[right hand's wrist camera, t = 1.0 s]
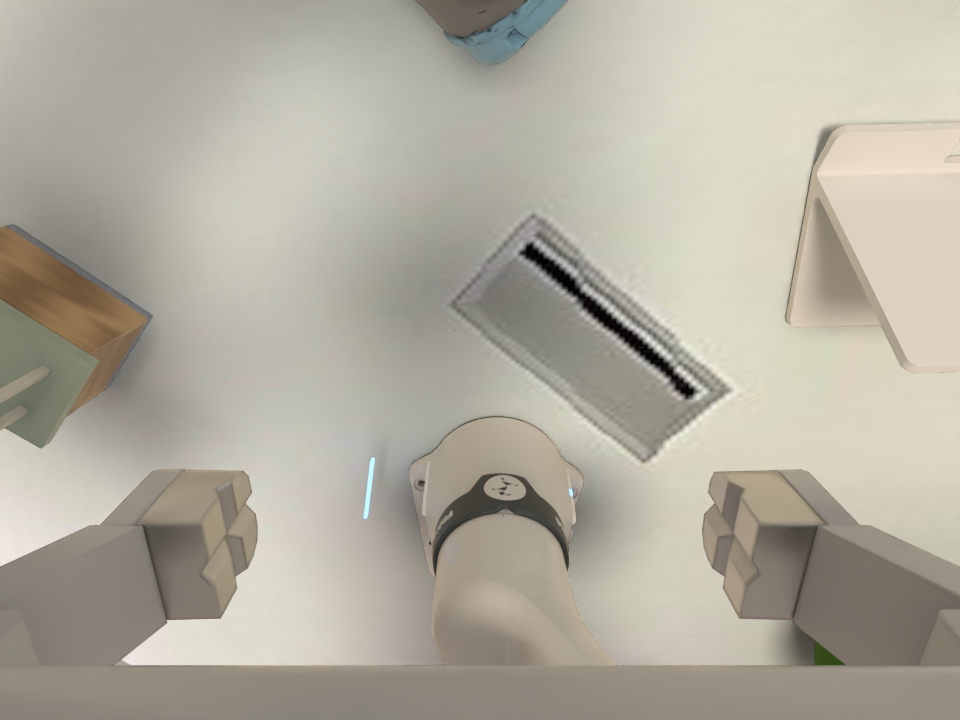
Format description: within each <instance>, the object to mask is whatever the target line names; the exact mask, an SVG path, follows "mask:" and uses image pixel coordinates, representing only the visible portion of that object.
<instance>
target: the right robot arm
mask: <svg viewBox="0 0 960 720" xmlns="http://www.w3.org/2000/svg"><path fill="white" fill-rule="evenodd" d="M374 461H375V458H371V461H370V469H369V477H368V486H367V495H366V503H365V512H364V518H366V519H367V516H368V511H369V502H370V494H371V486H372V477H373V469H374ZM409 477H410V482H411V487H412V492H413V497H414V502H415V507H416V512H417V516H418V521H419V526H420V531H421V536H422V541H423V546H424V551H425V556H426V560H427V565H428V570H429V573H430V574H431V576H433V577H434V578H436V579H435V589H434V599H433V609H432V620H431V631H432V636H433V641H434V644H435V647H436V649H437V651H438V653H439V655H440V657H441V659H442V660H443V662H444V664H445V665H446V666H266V665H115V664H116V663H117V662H119V661H120V660H121V659H122V658H124V657H125V656H126V655H127V654H129V653H130V652H131V651H132V650H134V649H135V648H136V647H137V646H139V645H140V644H141V643H142V642H144V641H145V640H146V639H147V638H149V637H150V636H151V635H152V634H154V633H155V632H156V631H157V630H159V629H160V628H161V627H162V626H164V625H165V624H166V623H167V620H184V619H219V618H221V617H222V615H223V613H224V612H225V610H226V608H227V606H228V604H229V602H230V600H231V599H232V597H233V595H234V593H235V591H236V589H237V584H236V578H235V577H236V576H237V575H238V574H240V573H241V572H243V571H244V570H246V569H247V568H248V566H249V564H250V562H251V560H252V558H253V556H254V552H255V548H256V543H257V519H256V514H255V513H254V512H253V511H252V510H251V509H250V508H249V507H248V506H247V505H246V504H245V503H246V501H247V500H248V498H249V496H250V495H251V493H252V490H251V485H250V481H249V476H248V475H247V474H246V473H245V472H244V471H227V470H184V469H174V470H156V471H152V472H151V473H150V474H149V475H148V476H147V477H146V478H145V479H144V480H143V481H142V482H141V483H140V484H139V485H138V486H137V487H136V488H135V489H134V491H133V492H132V493H131V494H130V495H129V496H128V497H127V498H126V499H125V500H124V501H123V502H122V503H121V504H120V505H119V506H118V507H117V508H116V509H115V510H114V511H113V512H112V513H111V514H110V515H109V516H108V517H107V518H106V519H105V520H104V521H103V522H102V523H101V525H91V526H88V527H86V528H83V529H81V530H79V531H77V532H75V533H73V534H70V535H68V536H66V537H64V538H62V539H59V540H57V541H55V542H53V543H51V544H49V545H46V546H44V547H42V548H40V549H38V550H36V551H33V552H31V553H29V554H27V555H25V556H22V557H20V558H18V559H16V560H14V561H12V562H9V563H7V564H5V565H3V566H1V567H0V720H960V567H959V566H957V565H955V564H953V563H950V562H948V561H946V560H944V559H942V558H940V557H937V556H935V555H933V554H931V553H929V552H926V551H924V550H922V549H920V548H918V547H916V546H913V545H911V544H909V543H907V542H905V541H903V540H900V539H898V538H896V537H894V536H892V535H890V534H887V533H885V532H883V531H881V530H879V529H877V528H874V527H872V526H869V525H860V524H859V523H858V522H857V521H856V520H855V519H854V518H853V517H852V516H851V515H850V514H849V513H848V512H847V511H846V510H845V509H844V508H843V507H842V506H841V505H840V504H839V503H838V502H837V501H836V500H835V499H834V498H833V497H832V496H831V495H830V493H829V492H828V491H827V490H826V489H825V488H824V487H823V486H822V485H821V484H820V483H819V482H818V481H817V480H816V479H815V478H814V477H813V476H812V475H811V474H810V473H809V472H807V471H805V470H802V469H791V470H767V471H727V472H714V473H713V475H712V478H711V480H710V484H709V490H708V493H709V495H710V496H711V498H712V500H713V501H714V503H715V504H714V505H713V506H712V507H711V508H710V509H709V510H708V511H707V512H706V513H705V514H704V520H703V528H702V534H703V545H704V549H705V552H706V556H707V559H708V560H709V562H710V564H711V566H712V568H713V569H714V570H716V571H717V572H719V573H720V574H722V575H723V576H724V577H725V578H724V584H723V589H724V591H725V593H726V595H727V597H728V598H729V600H730V602H731V604H732V606H733V608H734V610H735V611H736V613H737V615H738V617H739V619H775V620H793V623H794V624H795V625H797V626H798V627H799V628H800V629H802V630H803V631H804V632H805V633H807V634H808V635H809V636H810V637H811V638H813V639H814V640H815V641H816V642H818V643H819V644H820V645H821V646H823V647H824V648H825V649H826V650H828V651H829V652H830V653H831V654H833V655H834V656H835V657H836V658H838V659H839V660H840V661H841V662H843V663H844V664H845V665H618V664H617V663H616V662H615V661H614V660H613V659H612V658H611V657H610V656H609V655H608V654H607V653H606V652H605V651H604V650H603V649H602V648H601V646H600V645H599V644H598V643H597V642H596V640H595V639H594V638H593V637H592V635H591V634H590V632H589V631H588V630H587V628H586V626H585V625H584V623H583V621H582V619H581V617H580V615H579V612H578V609H577V606H576V603H575V600H574V596H573V593H572V589H571V586H570V582H569V578H568V573H567V571H568V567H569V556H568V551H569V548H568V543H571V542H572V539H573V530H572V529H571V527H572V525H574V524H575V523H576V513H575V506H576V503H577V501H578V498H579V495H580V493H581V490H582V488H583V484H584V482H583V476H582V474H581V473H580V471H578V470H577V469H576V468H575V467H573V466H572V465H570V464H569V463H567V462H566V461H565V460H564V459H563V458H562V457H561V455H560V454H559V452H558V450H557V449H556V447H555V445H554V444H553V443H552V441H551V440H550V439H549V438H548V437H547V436H546V435H545V434H544V433H543V432H541V431H540V430H539V429H537V428H535V427H534V426H532V425H530V424H528V423H525V422H523V421H519V420H516V419H511V418H503V417H491V418H483V419H479V420H475V421H472V422H469V423H467V424H464V425H462V426H461V427H459V428H457V429H456V430H454V431H453V432H451V433H450V434H449V435H448V436H447V437H446V438H445V439H444V440H443V441H442V442H441V443H440V445H439V446H438V447H437V448H436V449H435V450H434V451H433V452H432V453H431V454H428V455H426V456H424V457H422V458H420V459H419V460H417V461H415V462H414V463H413V464H412V465H411V466H410V469H409ZM420 480H423V481H425V483H420V482H419V481H420Z"/></svg>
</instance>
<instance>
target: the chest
mask: <svg viewBox="0 0 960 720" xmlns="http://www.w3.org/2000/svg"><path fill="white" fill-rule="evenodd" d="M0 299H1V300H3V301H4V302H6V303H8V304H9V305H11V306H12V307H14V308H16V309H17V310H19V311H20V312H22V313H24V314H25V315H27V316H29V317H30V318H32V319H33V320H35V321H37V322H38V323H40V324H41V325H43V326H45V327H46V328H48V329H49V330H51V331H53V332H54V333H56V334H58V335H59V336H61V337H62V338H64V339H66V340H67V341H69V342H70V343H72V344H74V345H75V346H77V347H78V348H80V349H82V350H83V351H85V352H87V353H88V354H90V355H91V356H93V357H95V358H96V359H98V360H99V362H98V364H97V365H96V367H95V369H94V370H93V372H92V374H91V375H90V377H89V379H88V380H87V382H86V384H85V385H84V387H83V389H82V390H81V392H80V394H79V395H78V397H77V399H76V400H75V402H74V404H73V405H72V407H71V409H70V410H69V412H68V414H67V415H66V417H67V416H68V415H69V414H71V413H72V412H74V411H75V410H76V409H78V408H79V407H81V406H82V405H83V404H85V403H86V402H88V401H89V400H91V399H92V398H93V397H95V396H96V395H98V394H99V393H100V392H102V391H104V390H105V389H107V388H108V387H109V386H110V384H111V382H112V381H113V379H114V377H115V376H116V374H117V373H118V371H119V369H120V368H121V366H122V365H123V363H124V361H125V360H126V358H127V356H128V355H129V353H130V352H131V350H132V348H133V347H134V345H135V344H136V342H137V340H138V339H139V337H140V335H141V334H142V332H143V331H144V329H145V327H146V326H147V324H148V323H149V321H150V319H151V318H152V316H153V315H151V314H149V313H148V312H146V311H145V310H143V309H142V308H140V307H139V306H137V305H136V304H134V303H133V302H131V301H130V300H128V299H127V298H125V297H123V296H122V295H120V294H119V293H117V292H116V291H114V290H113V289H111V288H110V287H108V286H107V285H105V284H104V283H102V282H101V281H99V280H98V279H96V278H94V277H93V276H91V275H90V274H88V273H87V272H85V271H84V270H82V269H81V268H79V267H78V266H76V265H75V264H73V263H72V262H70V261H68V260H67V259H65V258H64V257H62V256H61V255H59V254H58V253H56V252H55V251H53V250H52V249H50V248H49V247H47V246H46V245H44V244H43V243H41V242H39V241H38V240H36V239H35V238H33V237H32V236H30V235H29V234H27V233H26V232H24V231H23V230H21V229H20V228H18V227H17V226H15V225H9V226H6V227H2V228H0Z"/></svg>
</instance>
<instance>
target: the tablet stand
mask: <svg viewBox="0 0 960 720" xmlns="http://www.w3.org/2000/svg"><path fill="white" fill-rule="evenodd" d="M959 141H960V122H950V123H913V124H875V125H844V126H840V127H838V128H837V129H835V130H834V131H833V132H832V133H831V135H830V137H829V139H828V141H827V142H826V144H825V146H824V148H823V150H822V152H821V154H820V155H819V157H818V159H817V161H816V163H815V165H814V167H813V170H812V175H811V181H810V187H809V192H808V198H807V203H806V209H805V214H804V220H803V226H802V231H801V237H800V242H799V248H798V253H797V259H796V264H795V270H794V276H793V281H792V287H791V292H790V298H789V303H788V309H787V315H786V320H787V322H788V323H789V324H791V325H793V326H794V327H822V326H864V325H881V327H882V329H883V331H884V333H885V335H886V337H887V339H888V341H889V343H890V345H891V347H892V349H893V352H894V354H895V356H896V358H897V360H898V362H899V364H900V365H901V367H902V368H904V369H905V370H906V371H909V372H911V373H941V372H960V156H948V154H949V153H950V152H951V151H952V149H953V148H954V147H955V145H956V144H957V143H958V142H959ZM947 156H948V157H947Z"/></svg>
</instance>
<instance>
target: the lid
mask: <svg viewBox="0 0 960 720" xmlns="http://www.w3.org/2000/svg"><path fill="white" fill-rule="evenodd" d="M98 362H99V360H98V359H96V358H95V357H93V356H91V355H90V354H88V353H87V352H85V351H83V350H82V349H80V348H78V347H77V346H75V345H74V344H72V343H70V342H69V341H67V340H66V339H64V338H62V337H61V336H59V335H58V334H56V333H54V332H53V331H51V330H49V329H48V328H46V327H45V326H43V325H41V324H40V323H38V322H37V321H35V320H33V319H32V318H30V317H29V316H27V315H25V314H24V313H22V312H20V311H19V310H17V309H16V308H14V307H12V306H11V305H9V304H8V303H6V302H4V301H3V300H1V299H0V431H1V430H2V429H4V428H6V429H7V430H9V431H11V432H13V433H14V434H16V435H18V436H20V437H21V438H23V439H25V440H27V441H29V442H30V443H32V444H34V445H36V446H37V447H39V448H43V447H44V446H46V445H47V444H48V443H50V442H51V440H52V439H53V437H54V435H55V434H56V432H57V430H58V429H59V427H60V425H61V424H62V422H63V420H64V419H65V417H66V415H67V414H68V412H69V410H70V409H71V407H72V405H73V404H74V402H75V400H76V399H77V397H78V395H79V394H80V392H81V390H82V389H83V387H84V385H85V384H86V382H87V380H88V379H89V377H90V375H91V374H92V372H93V370H94V369H95V367H96V365H97V364H98Z"/></svg>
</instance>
